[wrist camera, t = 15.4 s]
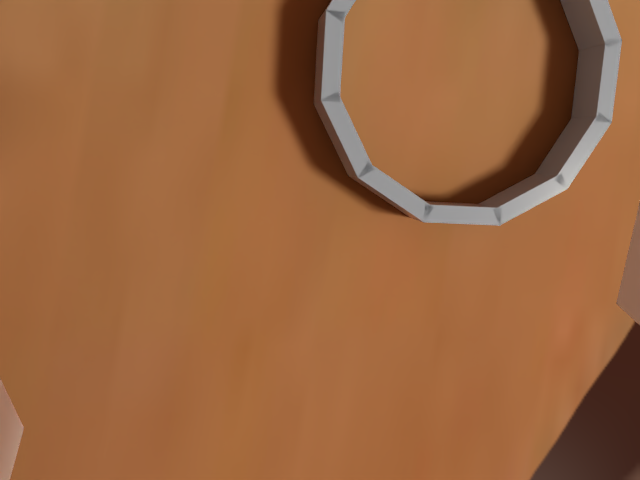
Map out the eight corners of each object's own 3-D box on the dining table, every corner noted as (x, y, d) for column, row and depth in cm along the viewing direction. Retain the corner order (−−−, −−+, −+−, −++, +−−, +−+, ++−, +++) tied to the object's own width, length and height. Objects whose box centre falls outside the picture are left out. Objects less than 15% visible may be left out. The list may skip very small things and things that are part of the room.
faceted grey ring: (307, 213, 35) (313, 218, 32) (324, -100, 32) (333, -120, 30) (573, 224, 37) (598, 229, 35) (607, -61, 35) (636, -77, 33)
